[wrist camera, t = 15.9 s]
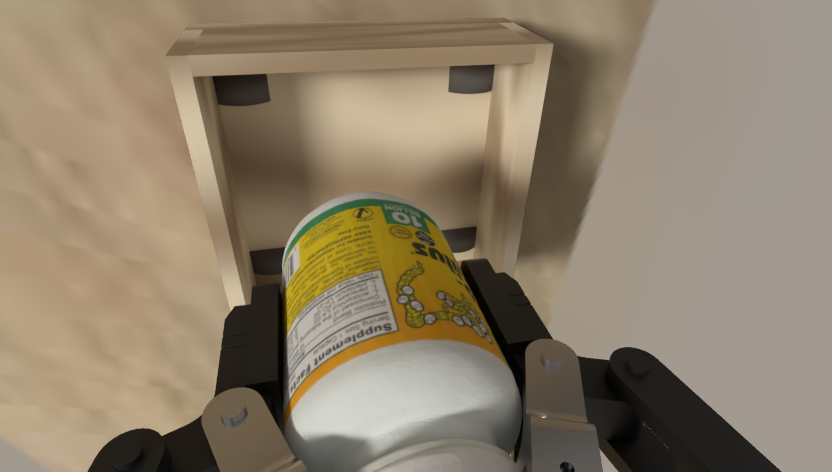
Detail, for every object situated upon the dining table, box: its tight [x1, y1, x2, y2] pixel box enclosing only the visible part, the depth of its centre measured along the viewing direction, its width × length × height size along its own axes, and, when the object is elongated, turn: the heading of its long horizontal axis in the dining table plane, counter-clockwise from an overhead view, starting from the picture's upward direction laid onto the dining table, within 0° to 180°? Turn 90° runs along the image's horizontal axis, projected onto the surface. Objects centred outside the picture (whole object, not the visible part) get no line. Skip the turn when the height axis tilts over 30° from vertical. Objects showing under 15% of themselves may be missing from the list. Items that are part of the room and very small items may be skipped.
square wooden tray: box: [165, 18, 554, 311], centre depth 21 cm, size 12×12×6 cm
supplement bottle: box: [282, 191, 523, 472], centre depth 12 cm, size 5×5×10 cm
